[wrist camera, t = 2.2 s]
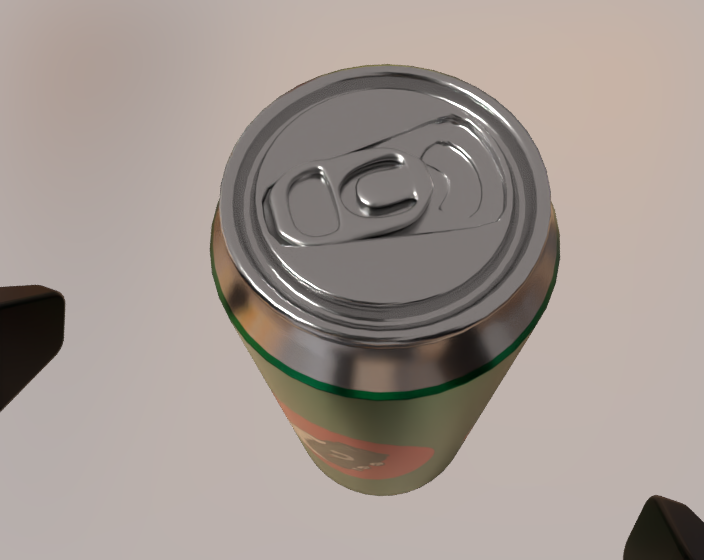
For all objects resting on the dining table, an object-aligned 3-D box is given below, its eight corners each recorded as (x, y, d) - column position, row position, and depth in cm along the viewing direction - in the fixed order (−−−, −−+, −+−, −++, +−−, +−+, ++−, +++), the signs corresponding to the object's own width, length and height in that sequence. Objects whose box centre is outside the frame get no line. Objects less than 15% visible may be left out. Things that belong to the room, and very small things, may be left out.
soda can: (489, 471, 18) (656, 309, 7) (320, 519, 18) (224, 428, 7) (434, 315, 20) (498, 10, 9) (282, 356, 20) (164, 86, 9)
